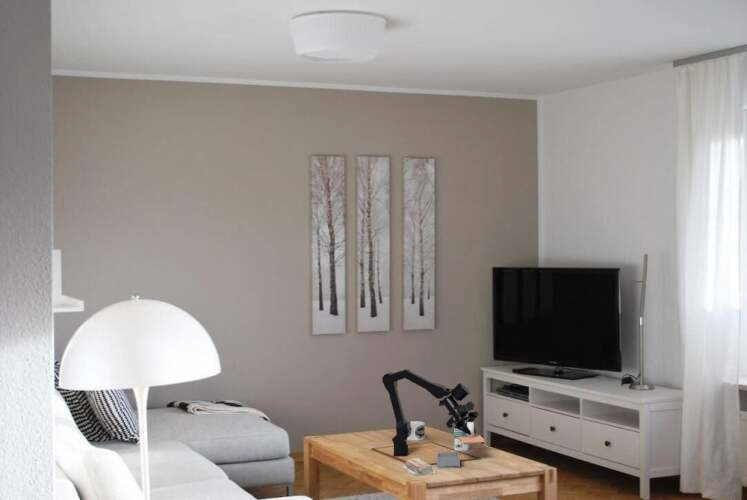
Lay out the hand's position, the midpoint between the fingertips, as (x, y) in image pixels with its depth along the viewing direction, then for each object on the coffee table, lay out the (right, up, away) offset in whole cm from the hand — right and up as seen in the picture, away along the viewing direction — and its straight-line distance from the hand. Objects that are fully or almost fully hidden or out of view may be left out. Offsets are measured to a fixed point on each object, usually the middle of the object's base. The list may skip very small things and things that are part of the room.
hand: (473, 433), depth 454 cm
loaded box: (-12, -12, -10) cm, 20 cm away
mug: (-25, -13, +52) cm, 59 cm away
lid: (-1, -4, +1) cm, 4 cm away
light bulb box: (-2, -12, +26) cm, 29 cm away
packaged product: (-26, -14, -18) cm, 34 cm away
